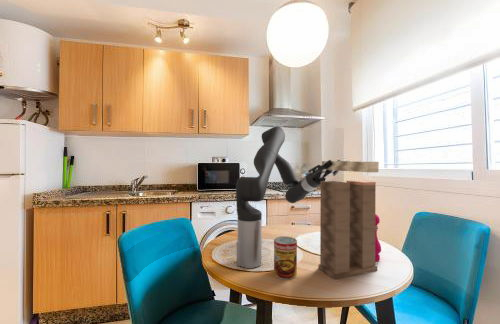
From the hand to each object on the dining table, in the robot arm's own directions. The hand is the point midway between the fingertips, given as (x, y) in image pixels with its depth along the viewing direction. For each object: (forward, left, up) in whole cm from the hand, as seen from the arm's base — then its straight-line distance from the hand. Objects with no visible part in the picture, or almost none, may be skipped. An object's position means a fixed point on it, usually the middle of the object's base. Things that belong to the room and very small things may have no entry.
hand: (335, 162), depth 98 cm
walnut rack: (+2, -8, -39) cm, 40 cm away
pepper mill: (+15, +3, -39) cm, 42 cm away
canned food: (-21, -13, -39) cm, 46 cm away
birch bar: (+3, -6, -3) cm, 7 cm away
